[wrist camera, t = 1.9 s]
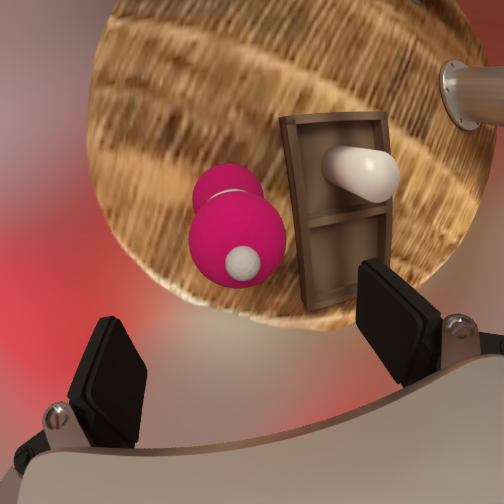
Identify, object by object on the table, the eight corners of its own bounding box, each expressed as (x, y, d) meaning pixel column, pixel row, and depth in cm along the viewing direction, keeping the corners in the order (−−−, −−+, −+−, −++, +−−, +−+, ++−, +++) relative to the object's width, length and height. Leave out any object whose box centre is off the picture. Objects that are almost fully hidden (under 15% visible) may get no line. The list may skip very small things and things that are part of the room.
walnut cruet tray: (373, 112, 29) (386, 111, 26) (377, 278, 40) (387, 288, 37) (278, 118, 28) (285, 116, 26) (301, 299, 39) (307, 311, 36)
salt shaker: (354, 143, 30) (397, 149, 22) (357, 182, 32) (399, 199, 24) (318, 147, 29) (354, 152, 21) (322, 187, 32) (358, 206, 23)
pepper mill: (229, 231, 33) (250, 348, 15) (182, 195, 31) (141, 281, 12) (269, 187, 32) (343, 260, 13) (223, 147, 29) (237, 162, 11)
